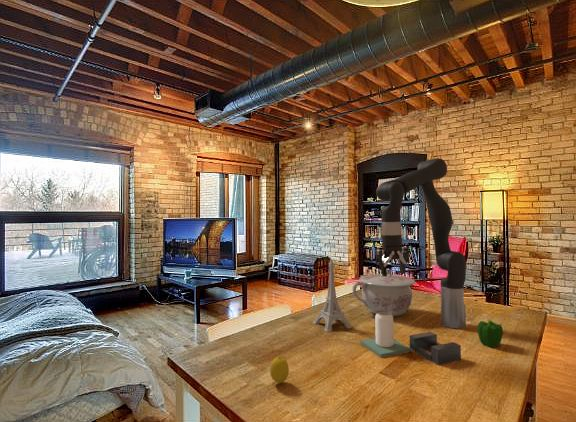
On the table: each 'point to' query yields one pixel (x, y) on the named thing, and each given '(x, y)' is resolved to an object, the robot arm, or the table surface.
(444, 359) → the block
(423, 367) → the table surface
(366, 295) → the chamber pot
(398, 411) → the table surface
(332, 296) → the eiffel tower
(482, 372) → the table surface
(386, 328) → the can
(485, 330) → the bell pepper
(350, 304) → the table surface
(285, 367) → the lemon
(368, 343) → the mat
